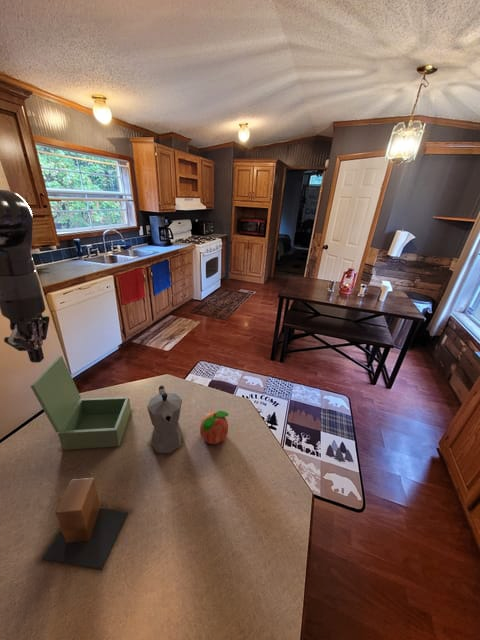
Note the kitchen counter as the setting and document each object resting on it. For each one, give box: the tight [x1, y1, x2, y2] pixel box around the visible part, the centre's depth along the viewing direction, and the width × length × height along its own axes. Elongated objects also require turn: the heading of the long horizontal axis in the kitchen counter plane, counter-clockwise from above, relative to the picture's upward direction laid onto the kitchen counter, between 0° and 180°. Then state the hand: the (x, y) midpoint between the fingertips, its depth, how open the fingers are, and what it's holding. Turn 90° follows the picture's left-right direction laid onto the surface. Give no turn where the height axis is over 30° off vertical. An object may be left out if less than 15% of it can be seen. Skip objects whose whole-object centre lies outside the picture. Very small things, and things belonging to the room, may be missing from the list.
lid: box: [30, 355, 82, 433], centre depth 71 cm, size 16×14×1 cm
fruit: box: [199, 410, 229, 445], centre depth 77 cm, size 9×10×10 cm
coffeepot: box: [146, 385, 183, 454], centre depth 73 cm, size 15×9×18 cm, turn 23°
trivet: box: [41, 507, 129, 571], centre depth 53 cm, size 12×10×1 cm
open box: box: [57, 396, 132, 450], centre depth 77 cm, size 15×14×7 cm
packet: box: [55, 477, 101, 543], centre depth 52 cm, size 4×6×10 cm
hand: (37, 360), depth 61 cm, fingers closed
